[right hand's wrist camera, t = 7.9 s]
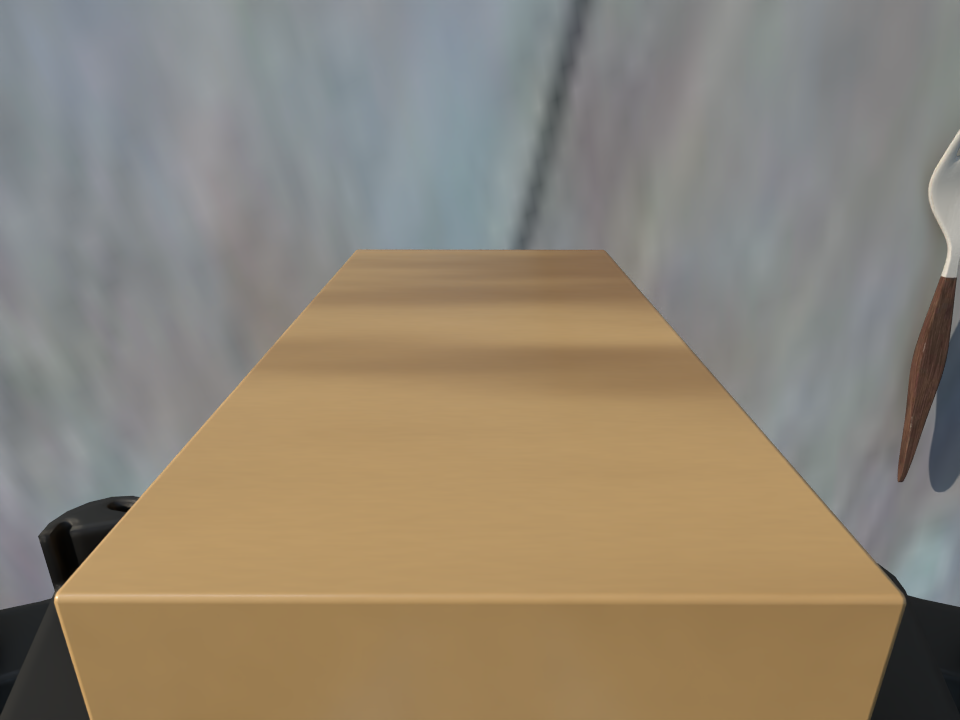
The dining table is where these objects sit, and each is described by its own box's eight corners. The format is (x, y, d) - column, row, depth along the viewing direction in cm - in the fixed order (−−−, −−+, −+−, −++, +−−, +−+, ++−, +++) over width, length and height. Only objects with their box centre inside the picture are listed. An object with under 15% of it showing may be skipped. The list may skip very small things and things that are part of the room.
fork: (863, 476, 28) (889, 502, 26) (948, 83, 22) (990, 81, 21) (922, 474, 28) (953, 500, 26) (1023, 81, 22) (1072, 78, 21)
